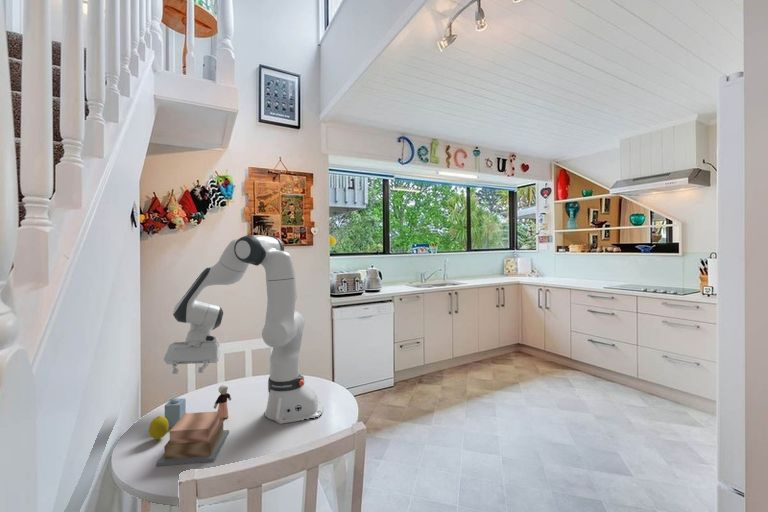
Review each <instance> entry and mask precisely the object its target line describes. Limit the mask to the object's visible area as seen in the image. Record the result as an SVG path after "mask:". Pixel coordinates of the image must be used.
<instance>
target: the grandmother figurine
mask: <svg viewBox="0 0 768 512" xmlns="http://www.w3.org/2000/svg"><path fill="white" fill-rule="evenodd" d="M228 390H229V387H228V385H225V384H221V386H219V388H218V392H219V393H220V394H219V395H218V397H217V399H216V400H215V402H214V405H213V409H217V411H219V421H223V422H224V419H227V418H229V408H228V401H231V400H232V397H231V394H230V393H229V392H228Z"/></svg>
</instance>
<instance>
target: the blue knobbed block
mask: <svg viewBox="0 0 768 512" xmlns="http://www.w3.org/2000/svg"><path fill="white" fill-rule="evenodd" d="M184 413H187V412H186V398H178V397H177V398H172V399H170V400H169V401H168V402H166V403H165V405H164V417H165V418H166V419H167V420H168V424H169V428H173V426H174V425H175V424H176V423H177V422H178V421H179V419H180V418H181V417H182V416H183V415H184Z"/></svg>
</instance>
